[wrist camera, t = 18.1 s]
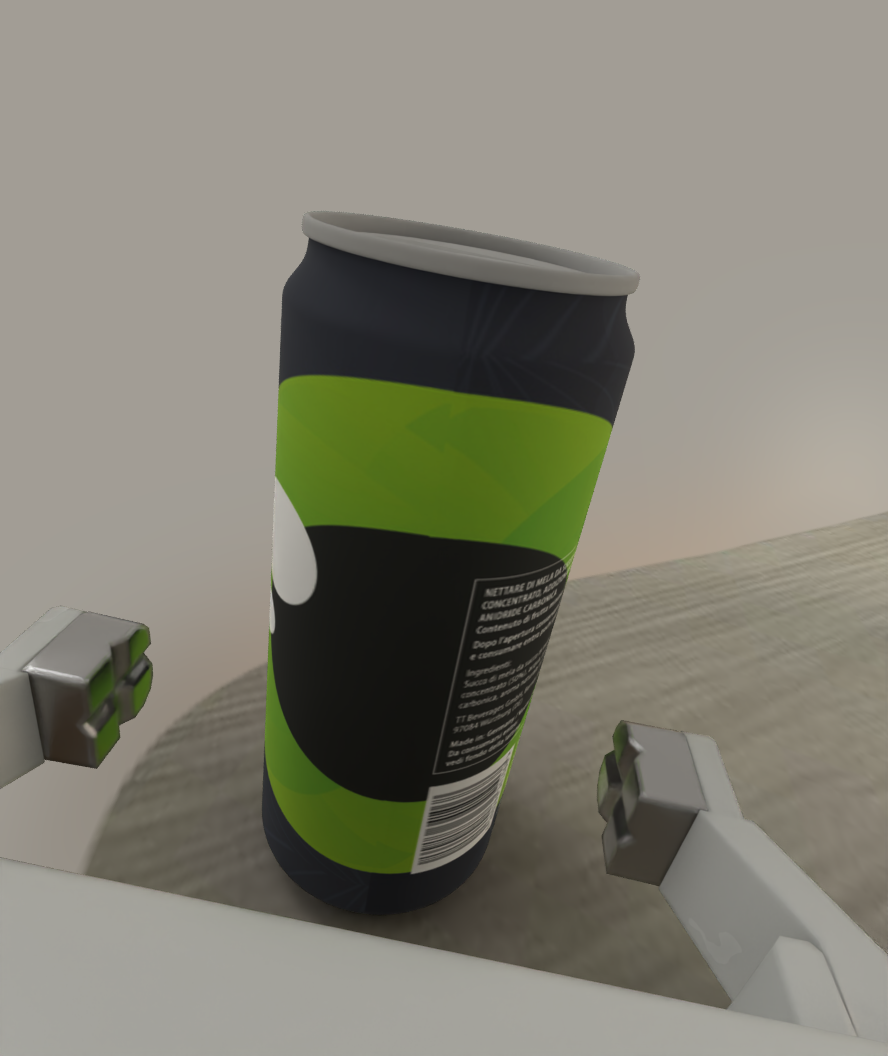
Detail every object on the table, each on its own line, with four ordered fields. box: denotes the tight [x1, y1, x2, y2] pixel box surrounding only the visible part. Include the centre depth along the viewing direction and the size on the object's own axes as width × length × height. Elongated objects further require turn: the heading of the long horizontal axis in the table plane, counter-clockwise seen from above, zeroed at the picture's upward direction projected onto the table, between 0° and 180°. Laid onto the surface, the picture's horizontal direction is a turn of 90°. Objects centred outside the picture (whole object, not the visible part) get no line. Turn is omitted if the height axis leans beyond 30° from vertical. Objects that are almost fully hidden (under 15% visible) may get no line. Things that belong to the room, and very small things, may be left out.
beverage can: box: [262, 211, 640, 915], centre depth 14 cm, size 6×6×15 cm
